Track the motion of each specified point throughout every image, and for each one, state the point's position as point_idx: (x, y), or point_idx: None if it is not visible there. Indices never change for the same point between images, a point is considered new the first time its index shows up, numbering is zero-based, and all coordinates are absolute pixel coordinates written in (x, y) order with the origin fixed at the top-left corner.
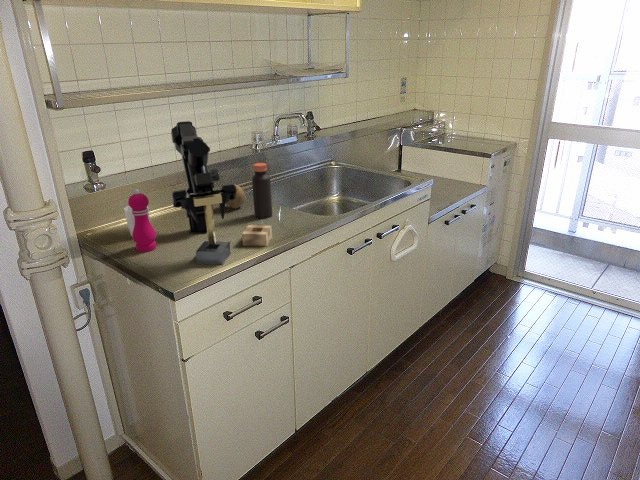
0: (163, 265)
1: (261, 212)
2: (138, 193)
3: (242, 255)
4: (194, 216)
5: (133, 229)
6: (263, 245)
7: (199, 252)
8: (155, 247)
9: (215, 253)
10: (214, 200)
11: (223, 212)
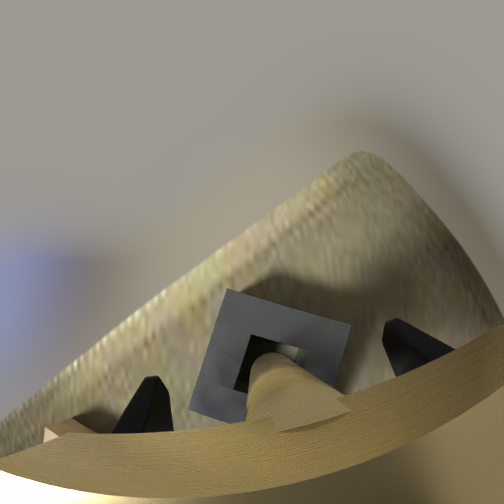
0: (441, 328)
1: None
2: None
3: (152, 365)
4: (435, 339)
5: None
6: (80, 424)
7: (332, 320)
8: None
9: (256, 299)
10: (162, 452)
11: (130, 410)
